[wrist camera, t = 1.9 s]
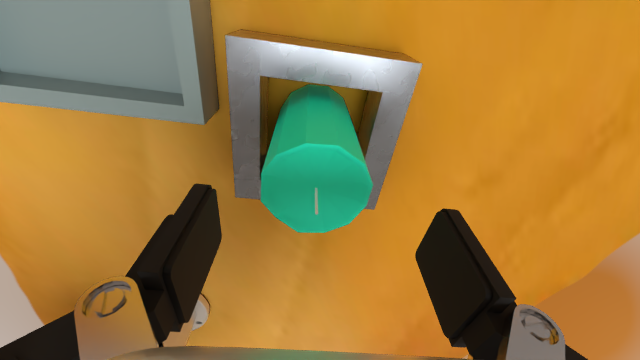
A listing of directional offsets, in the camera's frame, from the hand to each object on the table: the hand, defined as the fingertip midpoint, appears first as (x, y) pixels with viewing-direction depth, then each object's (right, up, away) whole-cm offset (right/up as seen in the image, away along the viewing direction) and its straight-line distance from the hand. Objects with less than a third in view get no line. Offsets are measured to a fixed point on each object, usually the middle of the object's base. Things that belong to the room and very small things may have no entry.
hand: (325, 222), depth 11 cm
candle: (-1, +7, +11) cm, 13 cm away
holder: (-1, +7, +11) cm, 13 cm away
